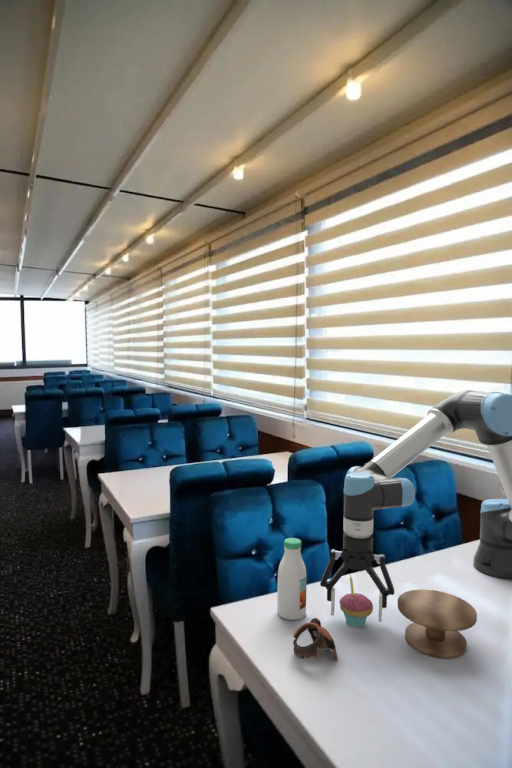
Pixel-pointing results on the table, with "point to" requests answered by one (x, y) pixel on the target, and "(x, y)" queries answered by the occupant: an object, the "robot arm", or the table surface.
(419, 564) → the table surface
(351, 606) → the cupcake
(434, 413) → the robot arm
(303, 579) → the milk bottle
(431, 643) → the cake stand
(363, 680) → the table surface
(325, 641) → the broken pottery fragment
